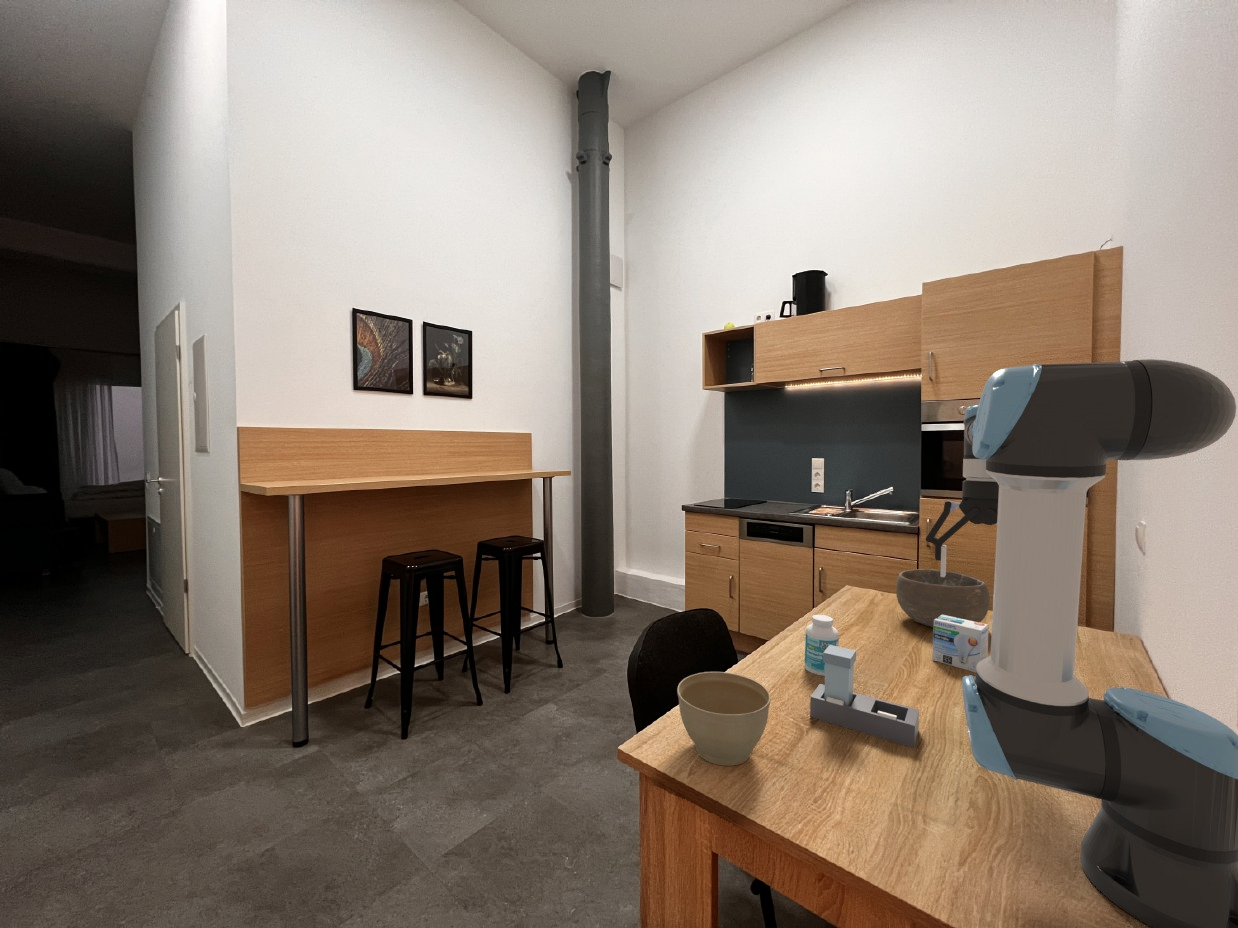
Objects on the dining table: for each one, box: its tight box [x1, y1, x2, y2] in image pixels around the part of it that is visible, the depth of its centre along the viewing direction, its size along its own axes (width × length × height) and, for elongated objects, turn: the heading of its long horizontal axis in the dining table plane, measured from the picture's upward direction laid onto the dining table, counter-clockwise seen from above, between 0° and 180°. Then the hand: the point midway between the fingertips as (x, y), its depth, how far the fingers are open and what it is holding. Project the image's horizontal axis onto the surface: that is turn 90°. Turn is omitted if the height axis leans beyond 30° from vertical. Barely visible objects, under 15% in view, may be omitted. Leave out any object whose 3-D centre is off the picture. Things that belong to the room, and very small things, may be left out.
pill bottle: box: [804, 614, 840, 677], centre depth 124 cm, size 8×7×14 cm
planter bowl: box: [676, 671, 771, 767], centre depth 92 cm, size 16×16×11 cm
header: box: [809, 683, 920, 749], centre depth 100 cm, size 7×18×6 cm, turn 55°
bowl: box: [895, 568, 991, 628], centre depth 159 cm, size 24×24×15 cm
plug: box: [823, 645, 857, 706], centre depth 102 cm, size 5×5×13 cm
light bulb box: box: [931, 615, 990, 674], centre depth 130 cm, size 11×7×11 cm, turn 42°
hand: (981, 581), depth 108 cm, fingers open, 13 cm apart
